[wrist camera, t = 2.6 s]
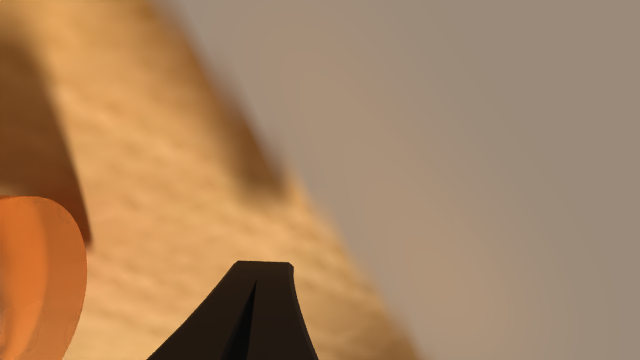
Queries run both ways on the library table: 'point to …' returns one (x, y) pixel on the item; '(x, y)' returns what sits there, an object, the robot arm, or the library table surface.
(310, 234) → the library table surface
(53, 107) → the library table surface
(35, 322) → the shaft
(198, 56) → the library table surface
